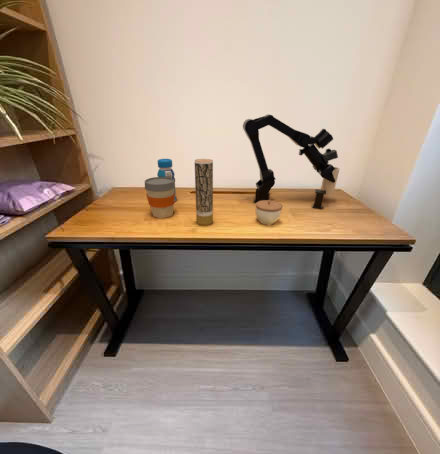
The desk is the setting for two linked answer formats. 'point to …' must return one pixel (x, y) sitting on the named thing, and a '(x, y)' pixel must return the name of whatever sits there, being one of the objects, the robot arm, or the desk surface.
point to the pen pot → (330, 183)
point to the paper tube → (204, 191)
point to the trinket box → (268, 211)
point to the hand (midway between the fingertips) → (332, 180)
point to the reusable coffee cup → (160, 196)
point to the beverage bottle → (166, 170)
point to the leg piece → (319, 198)
